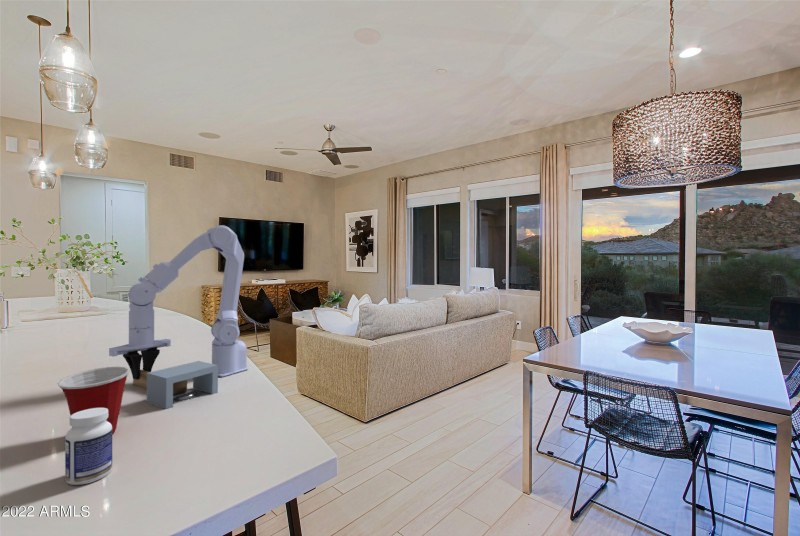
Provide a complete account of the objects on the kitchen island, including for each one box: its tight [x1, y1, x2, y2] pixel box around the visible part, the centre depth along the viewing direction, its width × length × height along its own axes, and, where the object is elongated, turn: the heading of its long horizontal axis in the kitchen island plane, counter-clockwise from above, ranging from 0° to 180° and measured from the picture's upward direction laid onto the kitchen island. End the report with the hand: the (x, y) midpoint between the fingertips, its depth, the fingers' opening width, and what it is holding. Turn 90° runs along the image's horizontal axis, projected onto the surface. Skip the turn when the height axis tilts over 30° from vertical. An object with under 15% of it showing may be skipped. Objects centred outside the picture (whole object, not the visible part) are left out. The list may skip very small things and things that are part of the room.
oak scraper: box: [132, 369, 188, 394], centre depth 100 cm, size 6×18×4 cm, turn 61°
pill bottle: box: [64, 408, 113, 486], centre depth 59 cm, size 6×6×10 cm
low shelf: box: [146, 360, 219, 410], centre depth 94 cm, size 13×8×7 cm, turn 151°
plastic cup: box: [57, 365, 131, 436], centre depth 73 cm, size 11×11×12 cm
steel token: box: [173, 389, 196, 402], centre depth 94 cm, size 5×5×1 cm
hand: (141, 377), depth 103 cm, fingers closed on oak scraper, 2 cm apart
